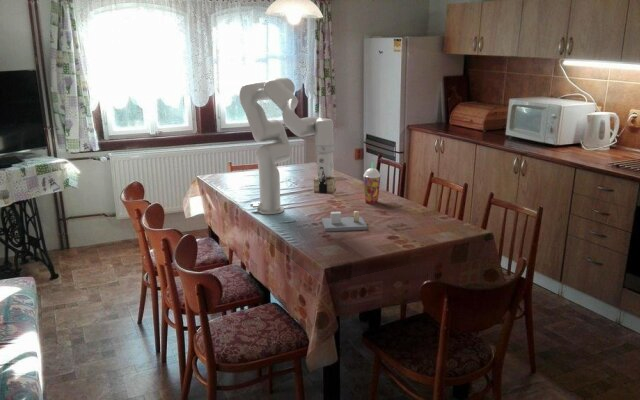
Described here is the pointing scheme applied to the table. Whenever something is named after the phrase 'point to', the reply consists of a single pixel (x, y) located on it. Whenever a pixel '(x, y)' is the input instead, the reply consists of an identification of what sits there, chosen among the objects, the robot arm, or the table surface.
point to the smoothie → (371, 185)
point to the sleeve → (330, 185)
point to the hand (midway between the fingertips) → (325, 190)
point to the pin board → (343, 222)
